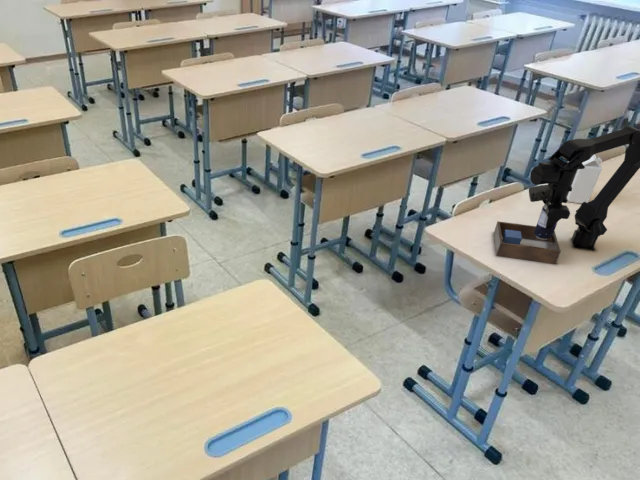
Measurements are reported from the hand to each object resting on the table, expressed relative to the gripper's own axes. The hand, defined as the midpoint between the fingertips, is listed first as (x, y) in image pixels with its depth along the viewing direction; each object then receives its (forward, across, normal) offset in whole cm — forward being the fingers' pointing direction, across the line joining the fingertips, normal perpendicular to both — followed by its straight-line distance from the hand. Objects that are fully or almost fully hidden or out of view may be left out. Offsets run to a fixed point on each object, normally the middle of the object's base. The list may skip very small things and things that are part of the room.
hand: (546, 224), depth 185 cm
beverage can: (+5, 0, 0) cm, 5 cm away
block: (+10, 0, -9) cm, 13 cm away
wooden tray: (+10, 0, -4) cm, 11 cm away
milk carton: (+10, -45, +20) cm, 50 cm away
